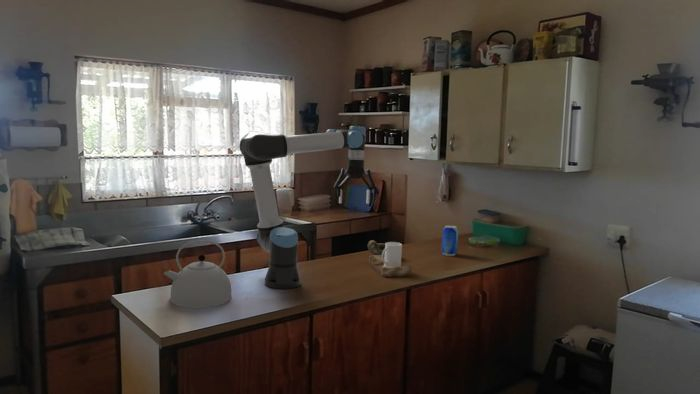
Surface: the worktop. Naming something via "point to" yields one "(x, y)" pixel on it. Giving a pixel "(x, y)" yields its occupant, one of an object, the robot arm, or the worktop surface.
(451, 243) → the beer can
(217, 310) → the worktop surface
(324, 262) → the worktop surface
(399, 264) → the mug
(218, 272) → the kettle
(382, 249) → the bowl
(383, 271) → the rack
